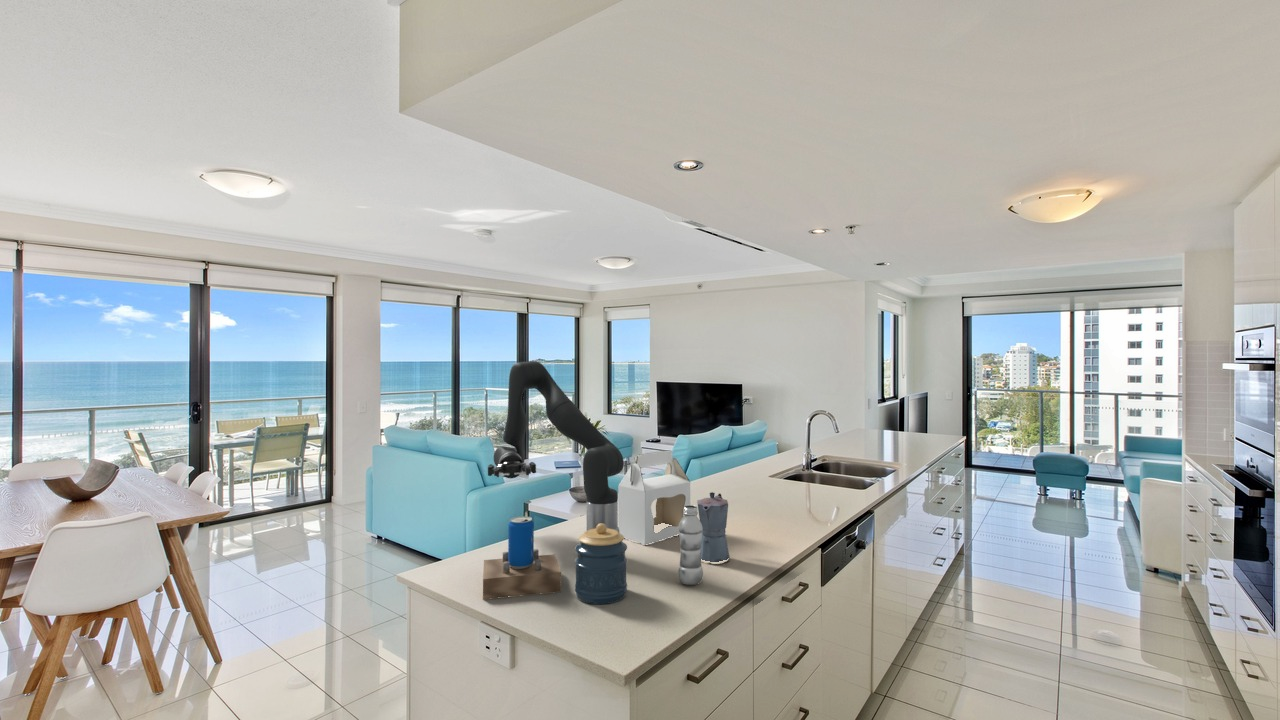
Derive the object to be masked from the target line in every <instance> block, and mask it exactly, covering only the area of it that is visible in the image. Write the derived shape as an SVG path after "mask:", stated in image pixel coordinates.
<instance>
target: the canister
mask: <svg viewBox="0 0 1280 720" xmlns="http://www.w3.org/2000/svg"><path fill="white" fill-rule="evenodd" d="M624 540H625V539H624V536H623V535H622V534H620V533H618V531H616V530H614V529H609V528H606V525H605V524H603V523H599V524H598V525H597V526H596V529H590V530H587V529H586V530H585V531H584V533H582V534H580V535H579V536H578V541H579V543H577V544H576V545H575V548H574V549H575V551H576V553H577V554H576V558H575V560H574V562H575V585H574V591H575V596H576V598H577V599H578V600H579V601H582V602H583V603H587V604H593V605H594V604H595V605H605V604H606V605H607V604H612V603H616V602H619V601H621V600H622V599H624V598H625V597H626V595H627V590H628V583H627V562H628V558H627V557H626V551H627V550H628V546H627V544H626V543H625V542H624Z"/></svg>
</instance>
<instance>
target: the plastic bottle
mask: <svg viewBox="0 0 1280 720" xmlns="http://www.w3.org/2000/svg"><path fill="white" fill-rule="evenodd" d="M683 514H684V517H683V518H682V520H681V522H680V523H679V527H678V528H679V536H678V537H679V543H680V545H679V546H680V558H679V565H678V566H679V567H678V571H677V572H678V574H677V575H678V579H679V581H680V583H681V584H684V585H686V586H696V585H695V584H697V585H699V584H701V582H702V580H703V577H704V572H703V571H704V570H703V566H702V565H703V564H702V562H701V554H700V552H701V549H700V548H701V538H702V529H703V527H702V524H701V522H700V519H699V516H697V515H699V511H698V505H693V504H692V505H691V504H690V505H687V506H684V512H683ZM698 583H699V584H698Z"/></svg>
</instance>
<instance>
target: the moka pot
mask: <svg viewBox="0 0 1280 720" xmlns="http://www.w3.org/2000/svg"><path fill="white" fill-rule="evenodd" d="M696 501H697V502H696V504H697V512H698V519H699V520H700V522H701V524H702V527H703V529H702V538H701V548H700V549H701V552H700V554H701V559H702V560H705V561H710V562H719V561H723V560H727V559H728V558H729V559H730V553H729V552H730V551H729V548H728V547H729V546H728V542H727V541H728V540H727V535H726V532H727V531H726V528H727V522H728V521H727V520H728V513H729V512H728V511H729V502H728V499H725V498H723V497H722V494H721V493H718V494H717V495H715V492H713V491H711V492H709V497H703V498H701V499H698V500H696Z"/></svg>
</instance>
